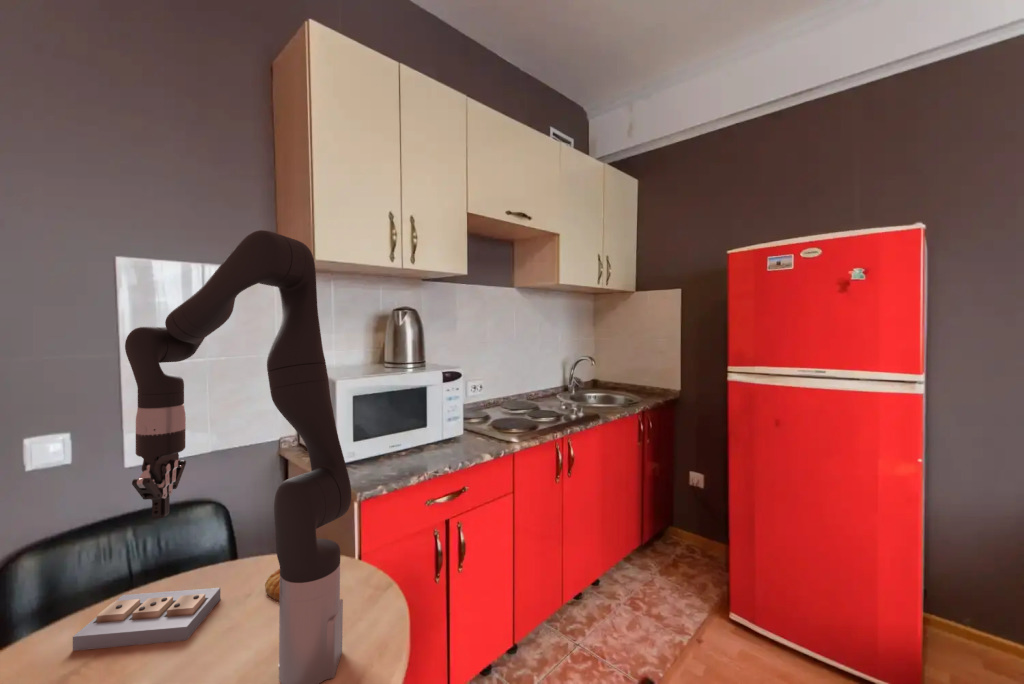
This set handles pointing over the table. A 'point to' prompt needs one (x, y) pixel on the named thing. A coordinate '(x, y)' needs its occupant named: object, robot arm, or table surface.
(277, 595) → the pastry
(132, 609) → the button
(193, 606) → the button
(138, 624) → the panel
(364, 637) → the table surface
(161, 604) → the button
